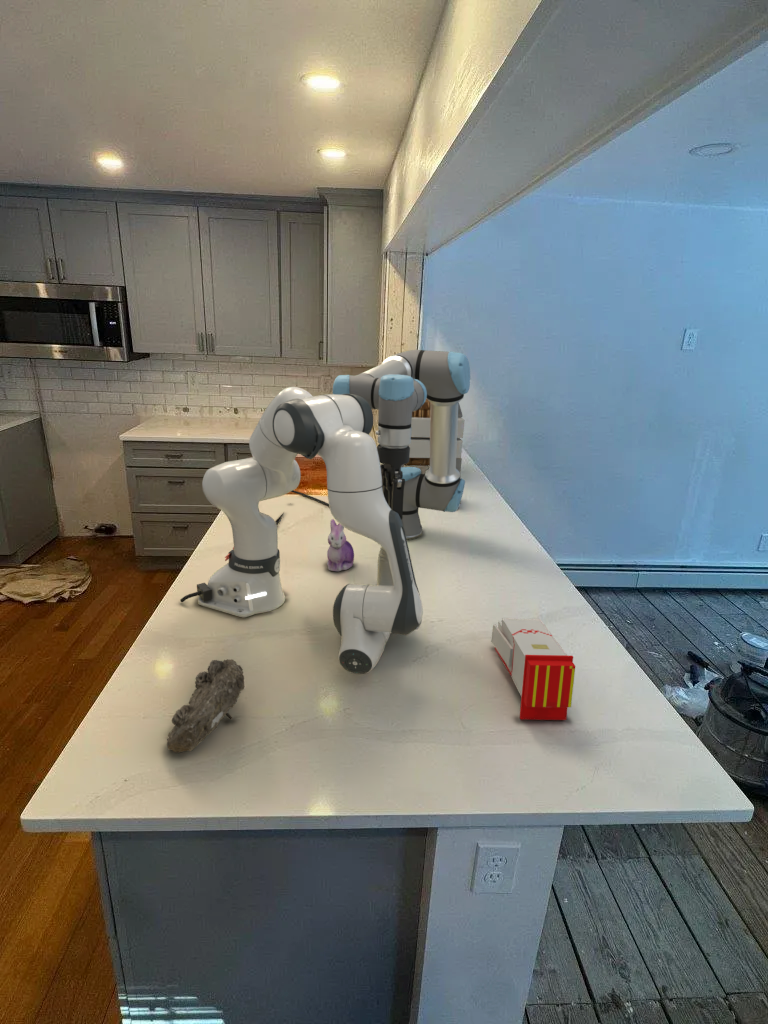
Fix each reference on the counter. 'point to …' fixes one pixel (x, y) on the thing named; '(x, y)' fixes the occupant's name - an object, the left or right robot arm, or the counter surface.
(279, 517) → the feather
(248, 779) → the counter surface
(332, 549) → the figurine
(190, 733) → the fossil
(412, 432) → the white wooden crate
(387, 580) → the bottle
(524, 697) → the toy
